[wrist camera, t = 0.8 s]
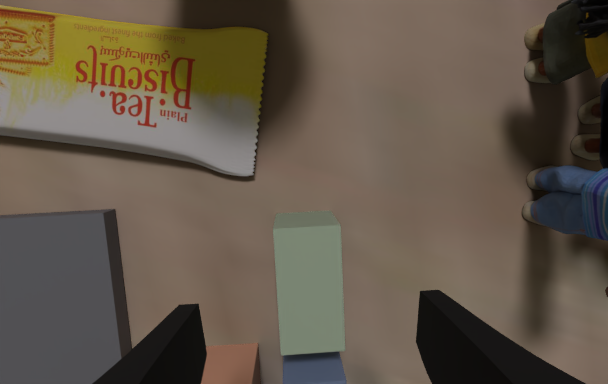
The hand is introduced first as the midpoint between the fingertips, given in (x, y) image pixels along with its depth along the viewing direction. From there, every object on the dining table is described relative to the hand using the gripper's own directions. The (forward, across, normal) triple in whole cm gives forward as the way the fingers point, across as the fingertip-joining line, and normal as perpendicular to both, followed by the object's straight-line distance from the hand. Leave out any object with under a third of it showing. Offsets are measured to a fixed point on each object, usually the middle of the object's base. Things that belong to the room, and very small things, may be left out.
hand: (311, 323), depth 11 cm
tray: (+12, +19, +9) cm, 24 cm away
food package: (+16, +16, -8) cm, 24 cm away
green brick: (+13, 0, +6) cm, 14 cm away
